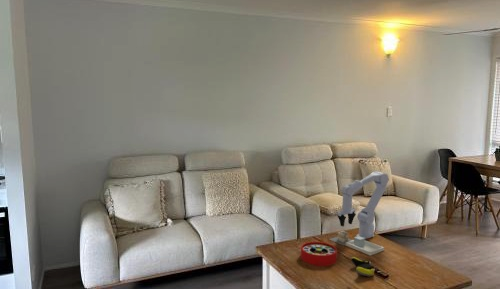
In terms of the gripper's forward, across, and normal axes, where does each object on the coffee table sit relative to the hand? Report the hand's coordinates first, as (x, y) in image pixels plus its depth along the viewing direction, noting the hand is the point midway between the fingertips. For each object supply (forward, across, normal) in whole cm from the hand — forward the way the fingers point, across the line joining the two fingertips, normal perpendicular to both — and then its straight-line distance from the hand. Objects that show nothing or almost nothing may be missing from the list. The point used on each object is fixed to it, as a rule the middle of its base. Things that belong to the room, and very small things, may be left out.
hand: (346, 224), depth 240 cm
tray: (+9, -3, -17) cm, 20 cm away
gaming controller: (+10, -29, -36) cm, 47 cm away
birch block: (+9, -5, -2) cm, 10 cm away
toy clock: (+10, -36, -11) cm, 38 cm away
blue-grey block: (+9, -3, -13) cm, 16 cm away
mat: (+9, -5, -2) cm, 11 cm away
